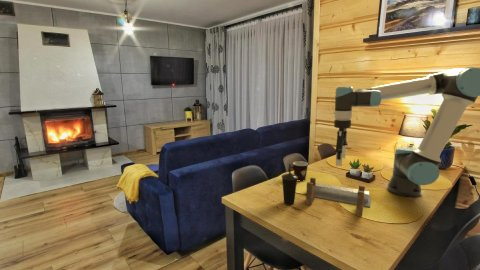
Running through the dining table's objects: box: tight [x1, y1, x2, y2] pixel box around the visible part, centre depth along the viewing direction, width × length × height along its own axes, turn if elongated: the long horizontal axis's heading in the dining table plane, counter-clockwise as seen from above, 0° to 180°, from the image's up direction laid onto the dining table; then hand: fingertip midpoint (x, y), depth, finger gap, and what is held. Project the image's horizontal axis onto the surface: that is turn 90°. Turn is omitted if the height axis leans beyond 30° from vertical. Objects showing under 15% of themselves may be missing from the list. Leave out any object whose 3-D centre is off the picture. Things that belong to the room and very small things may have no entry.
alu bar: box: [315, 182, 370, 202], centre depth 132 cm, size 28×4×4 cm, turn 62°
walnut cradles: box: [305, 177, 366, 217], centre depth 121 cm, size 24×8×11 cm, turn 62°
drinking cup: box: [281, 163, 298, 206], centre depth 124 cm, size 8×8×20 cm
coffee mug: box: [288, 160, 309, 182], centre depth 155 cm, size 12×9×10 cm
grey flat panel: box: [315, 193, 372, 208], centre depth 133 cm, size 30×12×1 cm, turn 62°
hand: (340, 161), depth 129 cm, fingers open, 13 cm apart
